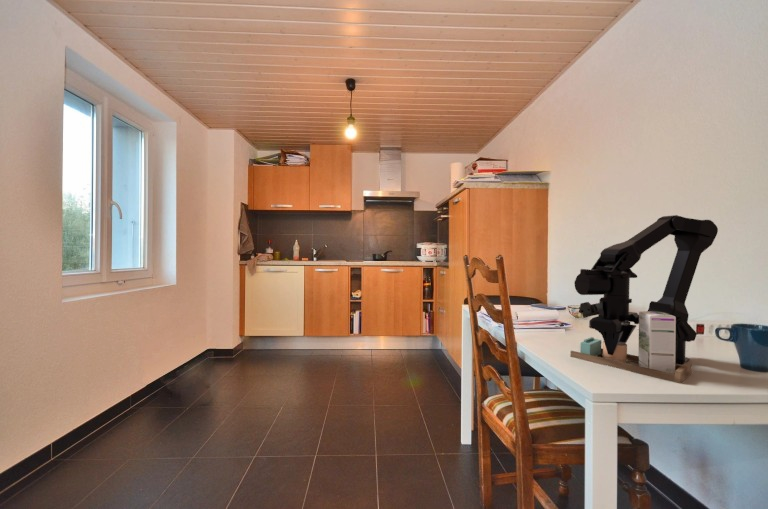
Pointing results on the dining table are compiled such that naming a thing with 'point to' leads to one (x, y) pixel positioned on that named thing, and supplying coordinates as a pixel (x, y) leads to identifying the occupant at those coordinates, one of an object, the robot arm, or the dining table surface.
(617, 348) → the jar
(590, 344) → the block
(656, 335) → the syrup box
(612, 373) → the dining table surface
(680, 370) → the lane
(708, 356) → the dining table surface
